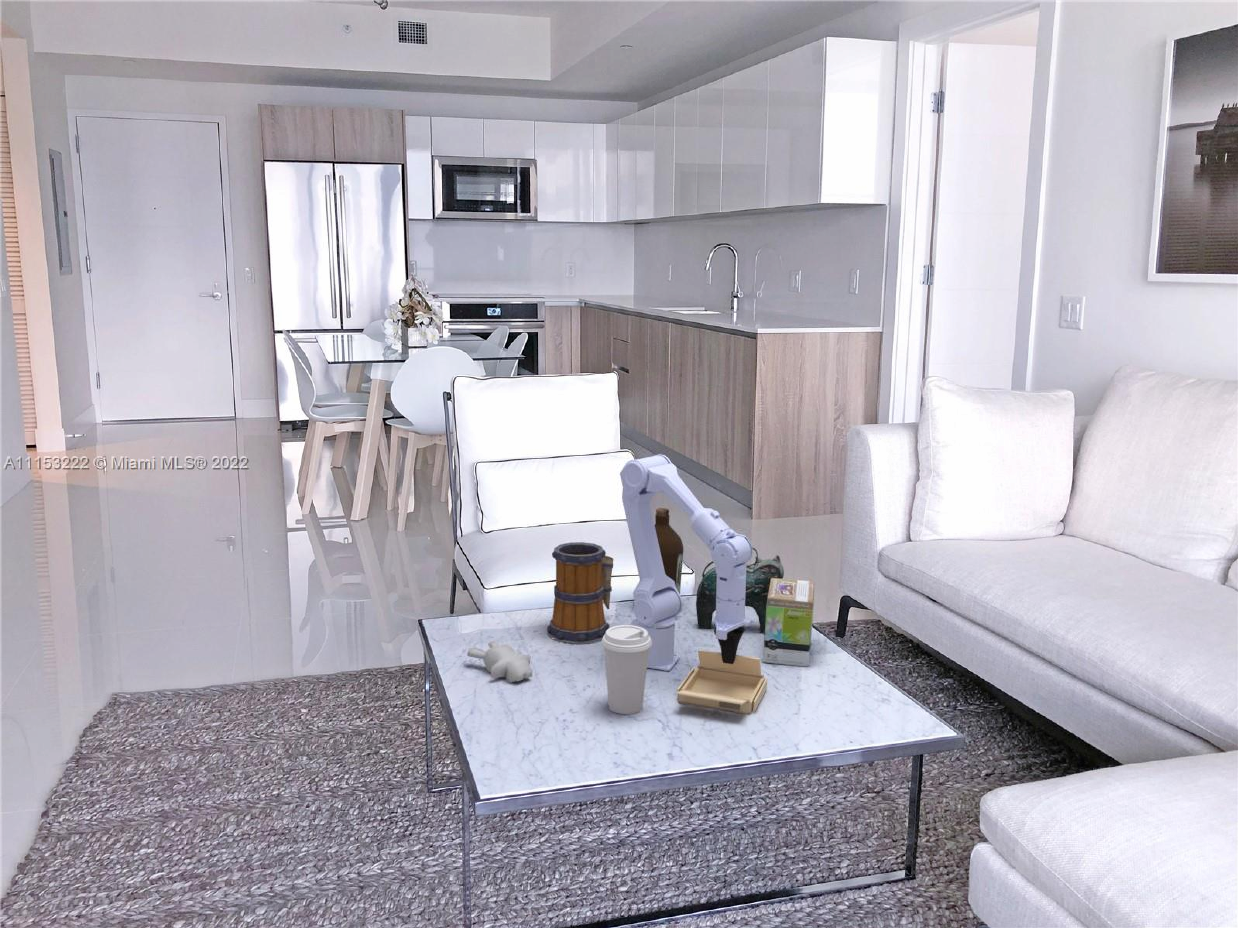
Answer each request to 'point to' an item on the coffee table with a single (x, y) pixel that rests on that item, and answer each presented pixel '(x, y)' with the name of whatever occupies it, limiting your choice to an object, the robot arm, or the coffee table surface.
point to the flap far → (739, 664)
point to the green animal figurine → (754, 595)
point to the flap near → (711, 697)
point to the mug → (580, 593)
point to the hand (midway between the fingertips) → (728, 662)
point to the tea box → (789, 622)
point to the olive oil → (669, 547)
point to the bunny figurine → (504, 662)
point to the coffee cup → (626, 667)
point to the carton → (723, 688)
